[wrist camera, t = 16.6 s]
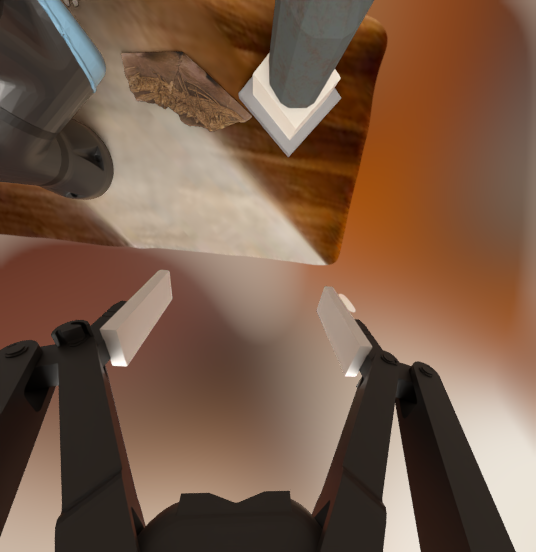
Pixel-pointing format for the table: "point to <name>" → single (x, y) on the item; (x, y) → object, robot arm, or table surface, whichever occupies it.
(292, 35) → the bottle
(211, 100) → the wooden fragment
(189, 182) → the table surface
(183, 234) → the table surface
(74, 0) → the human figurine
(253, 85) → the pedestal
